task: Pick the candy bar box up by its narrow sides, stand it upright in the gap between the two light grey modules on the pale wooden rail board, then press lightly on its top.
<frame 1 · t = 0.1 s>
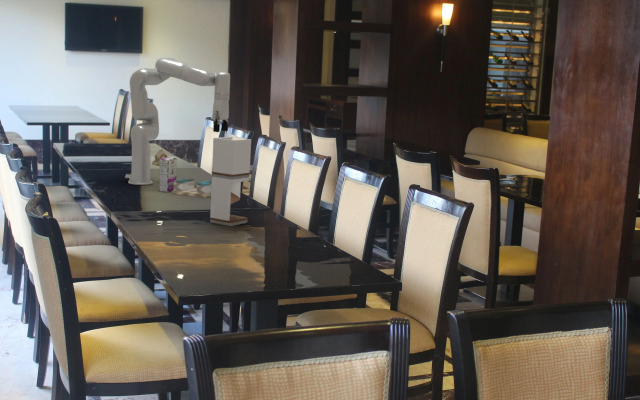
hand: (220, 131, 403), 31 cm above the table, fingers open, 9 cm apart
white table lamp: (228, 222, 334), on the table
rail board: (195, 193, 399), on the table
candy bar box: (167, 190, 405), on the table
ceramic model: (161, 165, 502), on the table
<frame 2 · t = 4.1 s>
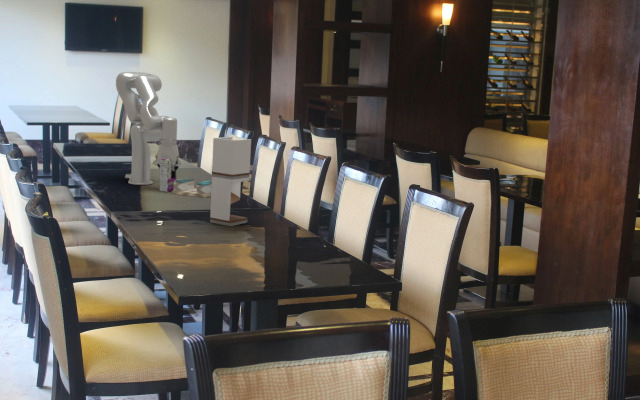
hand: (167, 177, 404), 6 cm above the table, fingers closed on candy bar box, 5 cm apart
candy bar box: (167, 190, 405), on the table, touching gripper
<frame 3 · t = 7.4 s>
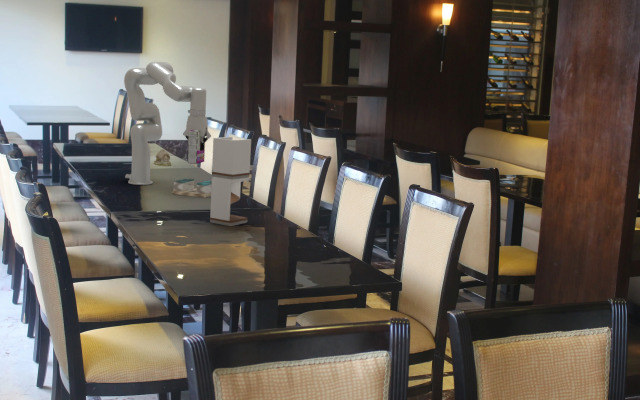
hand: (196, 149, 396), 22 cm above the table, fingers closed on candy bar box, 5 cm apart
candy bar box: (195, 163, 397), point 16 cm above the table, touching gripper
when the fingers open (9 cm above the table, at t = 10.7 s): candy bar box stays where it is, resting on rail board.
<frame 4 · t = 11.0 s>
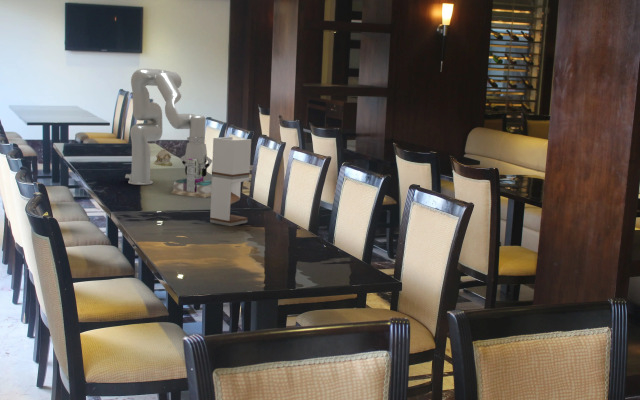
hand: (195, 175, 398), 9 cm above the table, fingers open, 8 cm apart
candy bar box: (194, 191, 399), point 1 cm above the table, touching rail board
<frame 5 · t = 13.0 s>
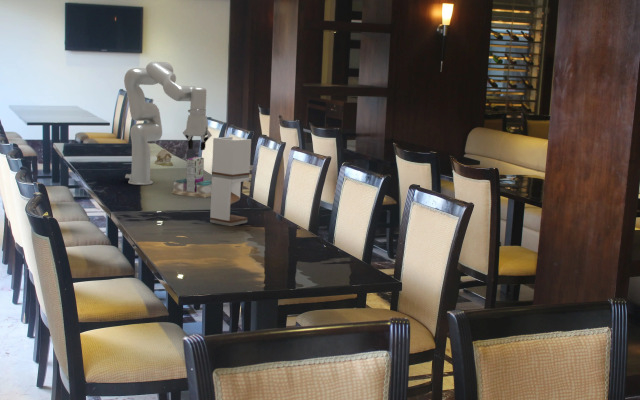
hand: (196, 149, 396), 23 cm above the table, fingers open, 5 cm apart
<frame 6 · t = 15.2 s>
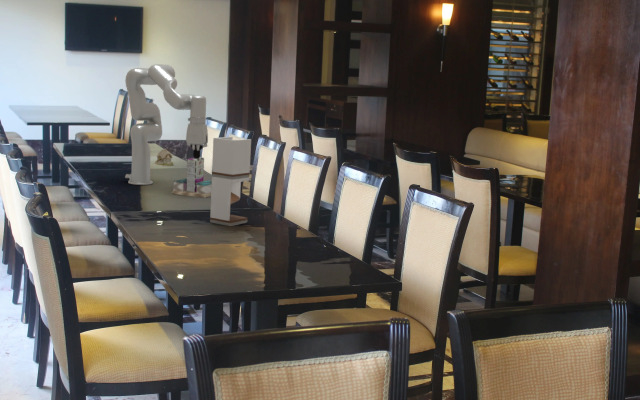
hand: (196, 158, 396), 18 cm above the table, fingers closed
candy bar box: (194, 191, 399), point 1 cm above the table, touching gripper, rail board
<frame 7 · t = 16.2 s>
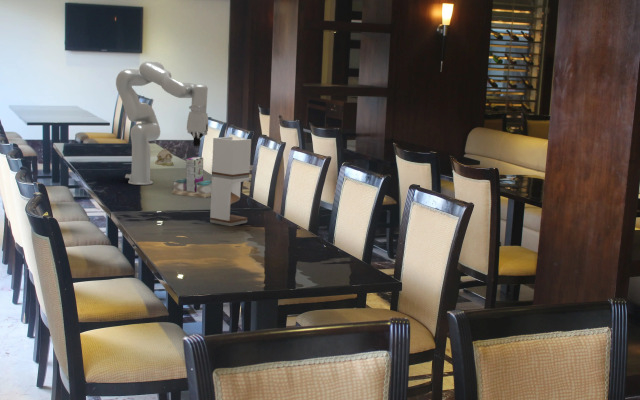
hand: (196, 145, 404), 23 cm above the table, fingers closed
candy bar box: (194, 191, 399), point 1 cm above the table, touching rail board
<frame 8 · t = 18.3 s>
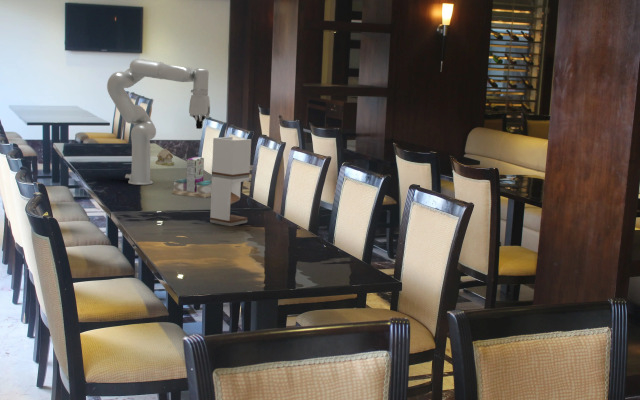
hand: (199, 128, 414), 31 cm above the table, fingers closed
at the end: candy bar box 0.4 cm off-centre on the rail board, point 1.3 cm above the rail board's base; candy bar box tilted 0°; the gripper is holding nothing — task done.
